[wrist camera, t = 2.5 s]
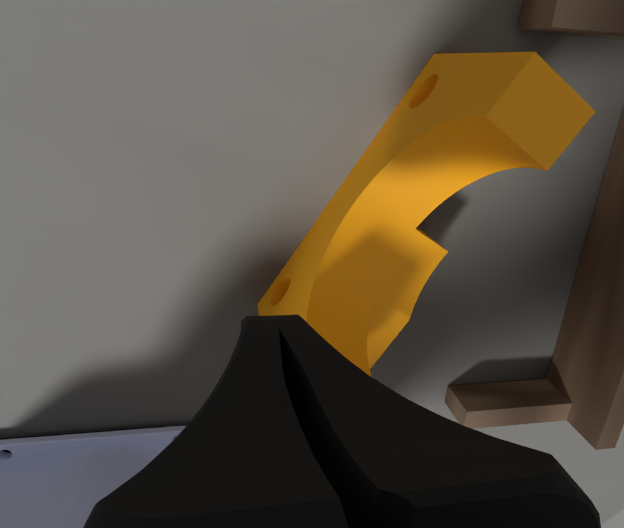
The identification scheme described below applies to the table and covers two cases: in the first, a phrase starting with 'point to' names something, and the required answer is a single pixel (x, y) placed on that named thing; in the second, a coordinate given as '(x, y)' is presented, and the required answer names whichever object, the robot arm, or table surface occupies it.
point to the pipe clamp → (419, 192)
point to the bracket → (574, 289)
